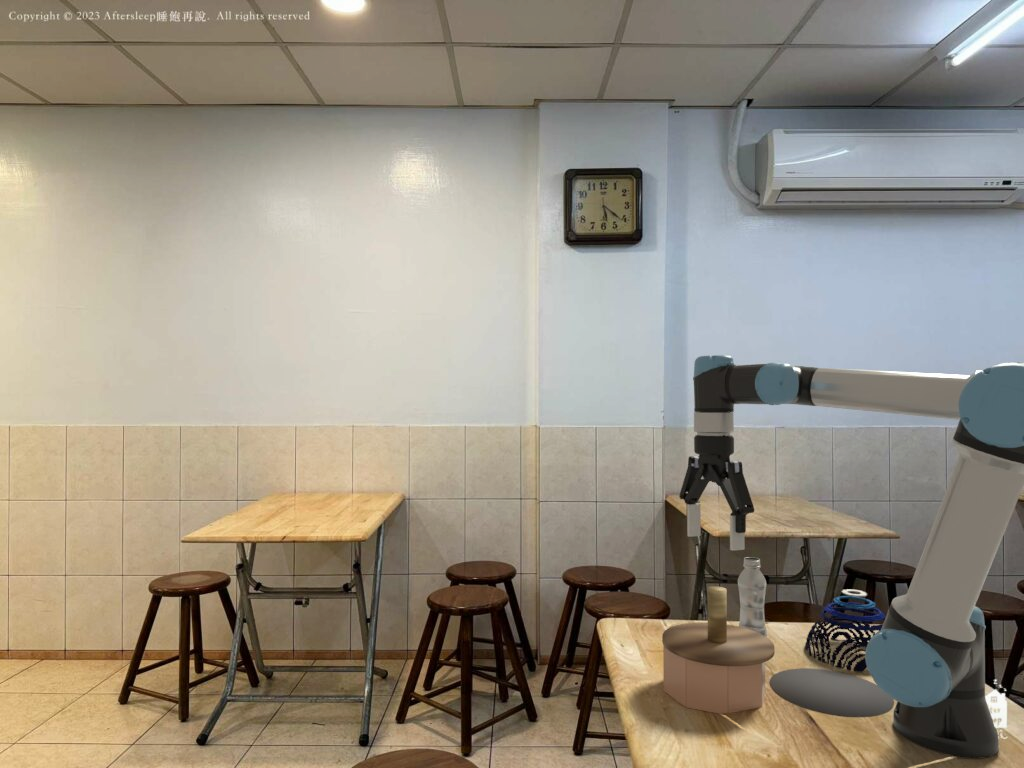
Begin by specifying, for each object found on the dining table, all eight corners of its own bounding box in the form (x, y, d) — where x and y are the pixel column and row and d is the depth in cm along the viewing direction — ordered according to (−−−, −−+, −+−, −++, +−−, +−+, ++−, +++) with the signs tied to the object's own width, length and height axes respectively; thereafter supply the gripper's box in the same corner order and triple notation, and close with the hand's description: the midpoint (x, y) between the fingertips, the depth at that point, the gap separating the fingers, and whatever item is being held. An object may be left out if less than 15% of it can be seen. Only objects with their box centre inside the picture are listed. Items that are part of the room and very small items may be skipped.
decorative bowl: (923, 679, 141) (922, 608, 141) (819, 672, 144) (819, 603, 145) (887, 644, 161) (886, 582, 161) (797, 639, 164) (796, 578, 164)
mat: (922, 708, 127) (921, 705, 127) (829, 727, 120) (829, 725, 120) (829, 664, 148) (829, 662, 148) (745, 678, 140) (745, 676, 140)
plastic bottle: (769, 643, 161) (769, 557, 161) (764, 652, 155) (763, 563, 155) (741, 638, 164) (740, 554, 164) (734, 647, 158) (734, 560, 158)
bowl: (784, 704, 129) (784, 656, 129) (703, 720, 122) (703, 669, 123) (723, 668, 146) (723, 625, 146) (648, 680, 139) (648, 635, 140)
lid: (799, 654, 130) (798, 596, 130) (713, 674, 120) (713, 611, 121) (720, 621, 148) (720, 570, 149) (640, 636, 139) (640, 581, 139)
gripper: (773, 437, 125) (774, 554, 124) (692, 431, 148) (693, 529, 147) (739, 437, 122) (740, 557, 121) (662, 431, 145) (662, 532, 145)
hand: (714, 542), depth 134 cm, fingers open, 13 cm apart
